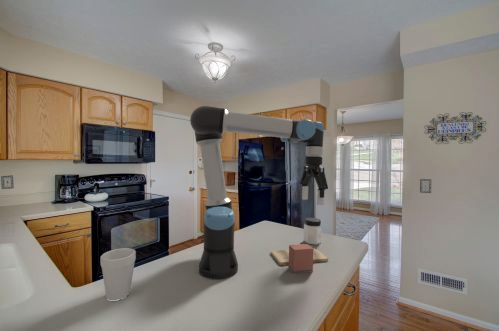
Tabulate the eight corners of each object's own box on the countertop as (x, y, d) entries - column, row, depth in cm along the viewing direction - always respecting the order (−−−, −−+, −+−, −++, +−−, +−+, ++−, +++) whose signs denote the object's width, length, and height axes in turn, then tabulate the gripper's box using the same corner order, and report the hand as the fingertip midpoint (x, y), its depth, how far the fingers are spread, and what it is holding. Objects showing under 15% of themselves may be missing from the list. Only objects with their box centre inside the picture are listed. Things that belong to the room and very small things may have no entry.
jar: (314, 246, 116) (315, 222, 116) (301, 241, 122) (301, 219, 121) (323, 241, 122) (324, 219, 122) (310, 237, 128) (310, 216, 128)
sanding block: (293, 273, 87) (294, 249, 87) (288, 267, 92) (289, 245, 92) (312, 271, 89) (313, 248, 89) (306, 265, 94) (307, 243, 94)
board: (279, 265, 93) (279, 262, 93) (270, 253, 105) (270, 251, 105) (327, 261, 98) (328, 258, 98) (314, 250, 110) (314, 247, 110)
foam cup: (127, 283, 77) (128, 246, 77) (140, 294, 72) (141, 253, 71) (95, 296, 70) (95, 254, 70) (106, 309, 64) (107, 263, 64)
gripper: (338, 156, 94) (335, 207, 94) (307, 156, 118) (306, 197, 118) (322, 155, 92) (319, 207, 92) (294, 156, 116) (292, 197, 116)
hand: (312, 202), depth 105 cm, fingers open, 13 cm apart
